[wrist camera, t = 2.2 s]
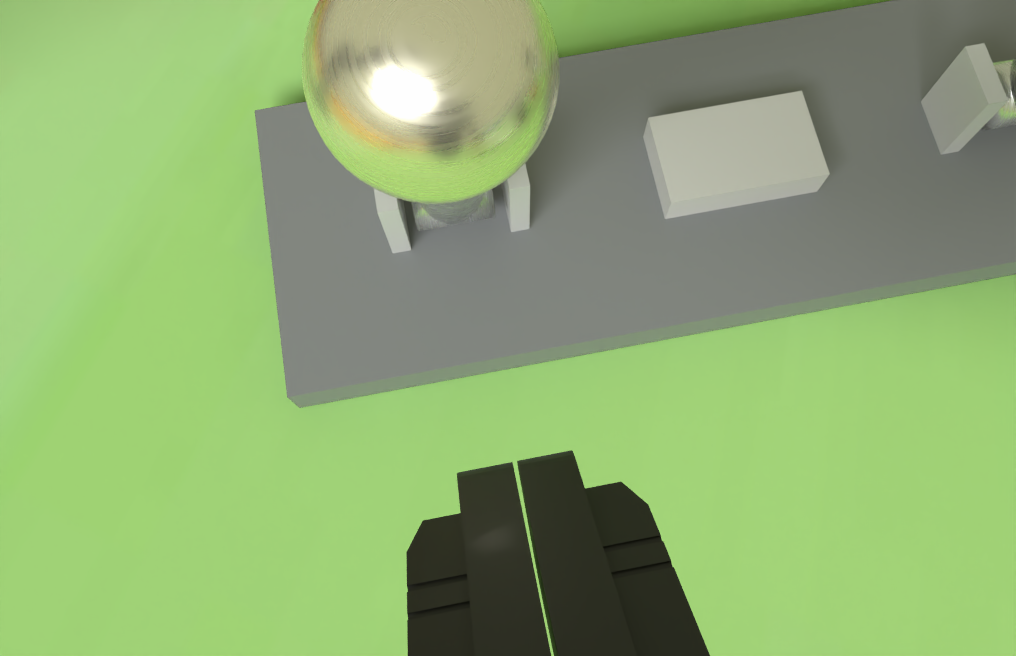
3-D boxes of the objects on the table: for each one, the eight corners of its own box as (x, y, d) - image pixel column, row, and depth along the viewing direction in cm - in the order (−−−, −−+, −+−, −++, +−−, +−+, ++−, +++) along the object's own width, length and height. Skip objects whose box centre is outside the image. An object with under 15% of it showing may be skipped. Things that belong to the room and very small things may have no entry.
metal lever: (517, 241, 27) (597, 159, 11) (405, 261, 27) (306, 212, 10) (497, 128, 27) (546, -136, 10) (384, 148, 27) (248, -88, 10)
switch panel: (1198, 239, 28) (1318, 176, 24) (299, 407, 27) (257, 372, 23) (1083, -8, 31) (1171, -104, 27) (267, 133, 30) (225, 56, 26)
